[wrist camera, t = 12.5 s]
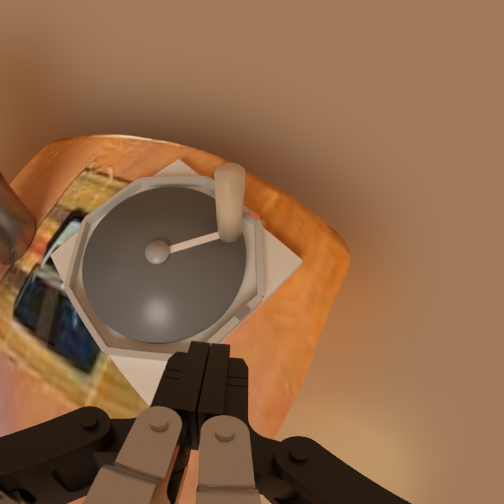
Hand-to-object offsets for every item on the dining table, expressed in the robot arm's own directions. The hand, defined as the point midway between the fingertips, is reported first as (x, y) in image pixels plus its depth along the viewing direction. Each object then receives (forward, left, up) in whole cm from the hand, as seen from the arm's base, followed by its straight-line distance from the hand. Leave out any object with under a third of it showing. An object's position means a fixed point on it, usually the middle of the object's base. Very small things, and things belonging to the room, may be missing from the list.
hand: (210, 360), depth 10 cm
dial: (-14, +4, -15) cm, 21 cm away
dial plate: (-14, +4, -17) cm, 22 cm away
